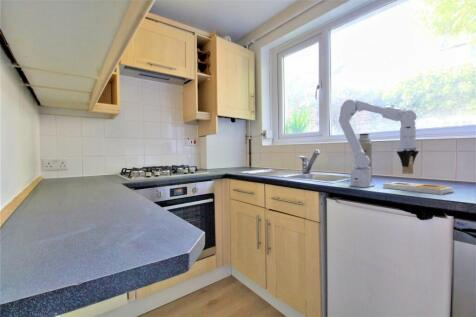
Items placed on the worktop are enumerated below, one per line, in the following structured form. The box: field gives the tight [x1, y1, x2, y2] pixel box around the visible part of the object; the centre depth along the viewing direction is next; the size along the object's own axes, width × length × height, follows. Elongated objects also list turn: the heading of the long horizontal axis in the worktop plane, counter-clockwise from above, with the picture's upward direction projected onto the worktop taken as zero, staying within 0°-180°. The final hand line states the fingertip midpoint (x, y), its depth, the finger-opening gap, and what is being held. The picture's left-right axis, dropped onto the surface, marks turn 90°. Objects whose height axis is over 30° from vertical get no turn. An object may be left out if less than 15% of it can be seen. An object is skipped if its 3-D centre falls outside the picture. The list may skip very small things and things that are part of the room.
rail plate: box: [382, 181, 454, 196], centre depth 104 cm, size 12×22×2 cm, turn 31°
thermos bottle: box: [358, 133, 373, 180], centre depth 139 cm, size 8×8×28 cm
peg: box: [401, 156, 414, 175], centre depth 107 cm, size 4×4×8 cm
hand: (407, 166), depth 107 cm, fingers closed on peg, 4 cm apart
